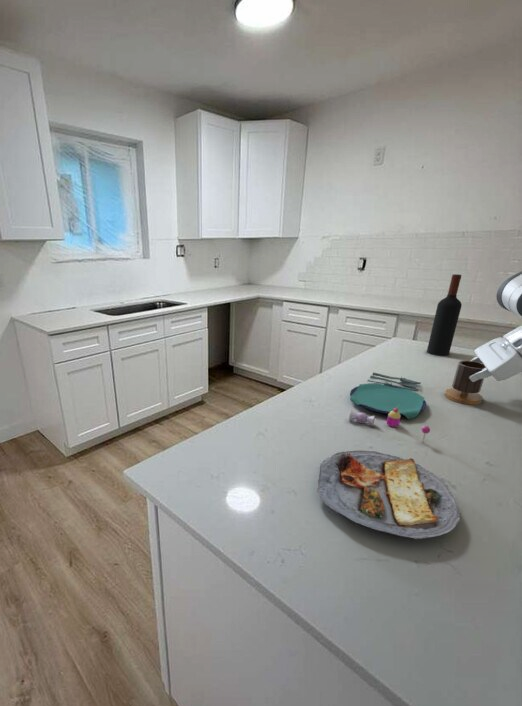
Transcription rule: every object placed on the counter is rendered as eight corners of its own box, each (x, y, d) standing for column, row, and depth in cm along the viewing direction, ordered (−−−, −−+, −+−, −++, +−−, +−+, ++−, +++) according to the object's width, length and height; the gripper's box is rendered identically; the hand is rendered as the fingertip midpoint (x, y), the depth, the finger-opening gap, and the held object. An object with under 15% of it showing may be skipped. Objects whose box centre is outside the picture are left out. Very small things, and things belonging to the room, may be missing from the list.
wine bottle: (423, 353, 144) (441, 275, 132) (430, 348, 149) (448, 273, 137) (445, 357, 139) (466, 276, 127) (451, 352, 144) (472, 274, 132)
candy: (346, 426, 94) (349, 405, 92) (353, 413, 100) (356, 393, 98) (426, 445, 85) (432, 422, 83) (428, 430, 91) (434, 408, 89)
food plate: (322, 449, 85) (323, 437, 83) (437, 469, 77) (441, 455, 75) (312, 525, 64) (314, 510, 62) (469, 564, 55) (476, 547, 54)
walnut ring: (476, 385, 107) (483, 361, 104) (482, 394, 102) (490, 369, 99) (450, 383, 110) (456, 359, 107) (455, 391, 104) (462, 367, 101)
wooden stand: (476, 393, 109) (485, 366, 106) (485, 406, 102) (495, 377, 98) (441, 390, 112) (449, 362, 109) (448, 402, 105) (456, 373, 101)
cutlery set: (340, 408, 104) (341, 400, 103) (366, 374, 125) (367, 368, 125) (419, 427, 93) (421, 419, 92) (433, 387, 114) (435, 380, 113)
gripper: (502, 327, 105) (453, 355, 113) (526, 347, 88) (467, 378, 96) (516, 343, 105) (467, 370, 113) (543, 366, 88) (483, 396, 96)
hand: (467, 374), depth 104 cm, fingers closed on walnut ring, 6 cm apart
